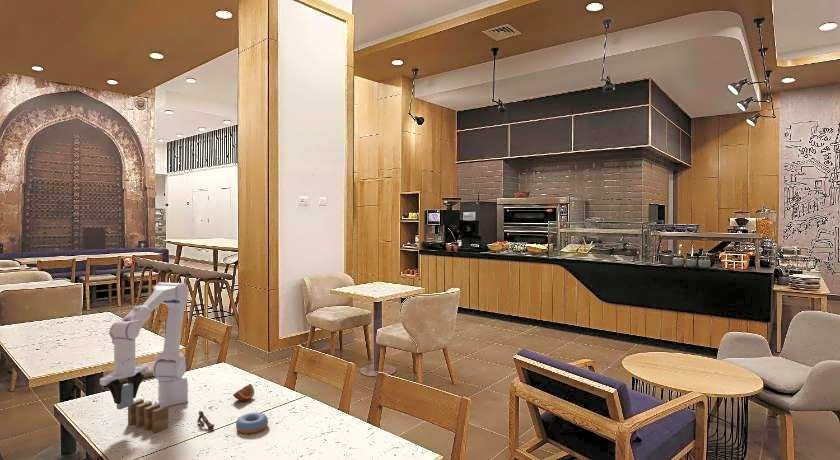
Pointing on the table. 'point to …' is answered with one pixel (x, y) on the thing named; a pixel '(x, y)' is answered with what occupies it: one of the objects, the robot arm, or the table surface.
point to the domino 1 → (126, 396)
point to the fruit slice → (245, 393)
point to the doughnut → (251, 423)
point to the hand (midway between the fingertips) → (125, 400)
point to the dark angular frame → (209, 425)
